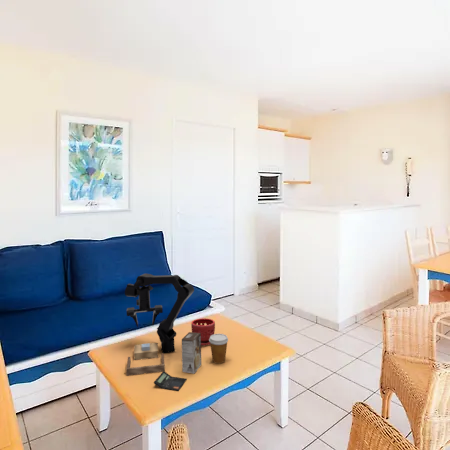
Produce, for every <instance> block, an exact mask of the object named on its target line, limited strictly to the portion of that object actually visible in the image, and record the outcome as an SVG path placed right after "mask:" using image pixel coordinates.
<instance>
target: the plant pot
mask: <svg viewBox="0 0 450 450" xmlns="http://www.w3.org/2000/svg"><path fill="white" fill-rule="evenodd" d="M190 325H191V332H194V333H201V347H204V346H205V347H206V346H209V345H210V341H209V339H210V336H211V335H213V334H215V331H216V322H215V320H214V319H211V318H206V317H205V318H204V317H203V318H197V319H194V320H192V321H191V323H190Z"/></svg>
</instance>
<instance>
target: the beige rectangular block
mask: <svg viewBox="0 0 450 450" xmlns="http://www.w3.org/2000/svg"><path fill="white" fill-rule="evenodd" d="M149 343H150V342H149ZM142 344H143V343H142ZM142 344H134V348H133V361H140V360H141V359H142V360H149V359H158V358H159V343H158V342H152V343H150V350H148V351H142ZM142 360H141V361H142Z"/></svg>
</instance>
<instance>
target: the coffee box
mask: <svg viewBox="0 0 450 450" xmlns="http://www.w3.org/2000/svg"><path fill="white" fill-rule="evenodd" d="M181 362H182V365H181V366H182V367H181V369H182V371H181V372H183V373H189V374H196V372H197V371H199V368H200V367H201V366H202V346H201V333H194V332H192V331H191V332H190V331H189V332H187V333H186V335H185V336H183V337H182V338H181Z"/></svg>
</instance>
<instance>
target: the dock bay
mask: <svg viewBox="0 0 450 450" xmlns="http://www.w3.org/2000/svg"><path fill="white" fill-rule="evenodd" d="M160 355H161V359H160V360H161V364H154V365H144V366H135V367H131V363H132V362H131V361H132V360H131V356H127V363H126V367H125V368H126V369H125V370H126V374H125V375H126V377H127V376H134V375H135V376H136V375H145V374H144V373H146V374H152V373H154V374H155V373H162V372H163V371H165V372H166V367H165V364H166V363H165V353H162V352H161V354H160Z"/></svg>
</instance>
